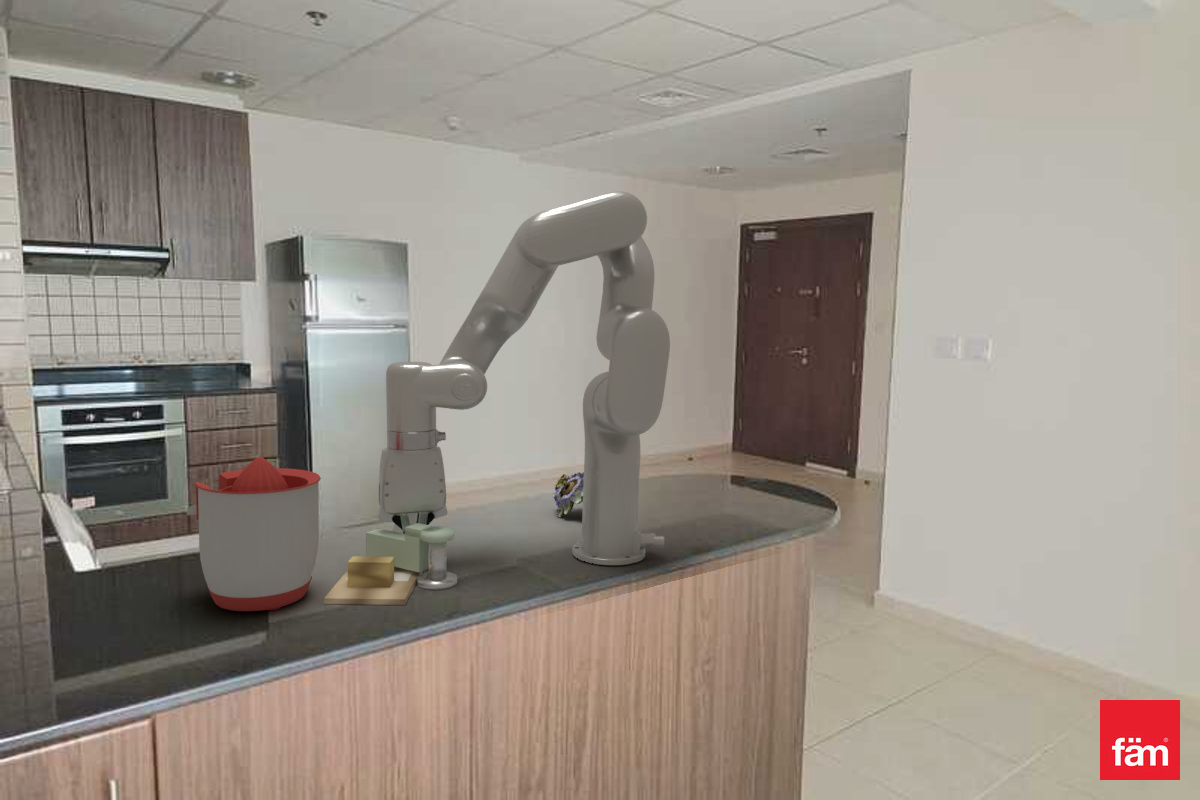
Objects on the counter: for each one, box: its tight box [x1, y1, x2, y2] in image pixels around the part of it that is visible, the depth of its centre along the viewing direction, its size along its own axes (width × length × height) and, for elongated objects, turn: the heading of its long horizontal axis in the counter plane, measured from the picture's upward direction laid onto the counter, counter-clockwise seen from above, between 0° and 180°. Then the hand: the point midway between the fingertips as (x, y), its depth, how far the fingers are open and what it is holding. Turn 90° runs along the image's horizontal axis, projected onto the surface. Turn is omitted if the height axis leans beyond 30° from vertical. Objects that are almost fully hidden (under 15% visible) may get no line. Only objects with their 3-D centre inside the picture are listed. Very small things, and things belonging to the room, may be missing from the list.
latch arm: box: [365, 523, 455, 572], centre depth 116 cm, size 15×5×6 cm, turn 63°
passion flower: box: [551, 471, 584, 517], centre depth 156 cm, size 11×11×12 cm
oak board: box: [323, 555, 424, 606], centre depth 113 cm, size 11×17×4 cm, turn 3°
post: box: [416, 542, 458, 591], centre depth 114 cm, size 6×6×7 cm
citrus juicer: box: [186, 456, 321, 612], centre depth 104 cm, size 16×17×20 cm
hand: (413, 553), depth 121 cm, fingers closed
